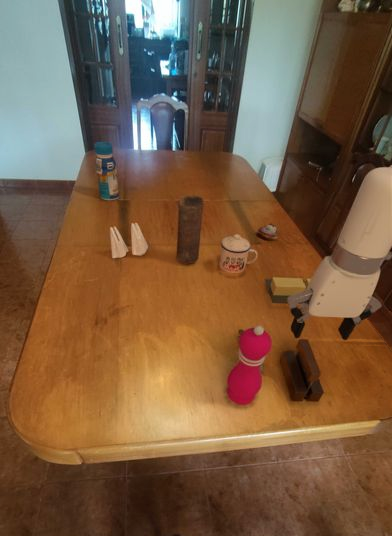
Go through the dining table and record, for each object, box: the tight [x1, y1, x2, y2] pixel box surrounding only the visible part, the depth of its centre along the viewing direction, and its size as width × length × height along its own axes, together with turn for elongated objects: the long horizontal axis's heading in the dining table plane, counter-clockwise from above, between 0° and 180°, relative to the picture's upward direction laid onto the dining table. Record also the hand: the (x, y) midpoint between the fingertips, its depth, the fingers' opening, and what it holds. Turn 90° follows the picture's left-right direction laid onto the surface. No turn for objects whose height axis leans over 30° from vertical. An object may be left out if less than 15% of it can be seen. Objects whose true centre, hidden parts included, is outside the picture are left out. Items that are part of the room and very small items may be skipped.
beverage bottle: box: [93, 141, 120, 201], centre depth 130 cm, size 8×8×20 cm
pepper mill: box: [226, 324, 273, 406], centre depth 63 cm, size 7×7×20 cm
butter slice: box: [304, 278, 312, 291], centre depth 95 cm, size 2×5×3 cm, turn 2°
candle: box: [175, 194, 204, 264], centre depth 99 cm, size 8×7×20 cm
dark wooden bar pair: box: [279, 350, 324, 403], centre depth 72 cm, size 6×12×4 cm, turn 2°
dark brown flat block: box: [295, 338, 322, 392], centre depth 71 cm, size 2×10×8 cm, turn 2°
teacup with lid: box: [218, 233, 258, 274], centre depth 100 cm, size 12×9×12 cm
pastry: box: [257, 222, 279, 241], centre depth 120 cm, size 8×8×5 cm
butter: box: [270, 276, 306, 296], centre depth 94 cm, size 9×5×3 cm, turn 92°
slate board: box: [264, 278, 306, 305], centre depth 96 cm, size 18×12×1 cm, turn 92°
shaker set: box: [109, 222, 149, 259], centre depth 102 cm, size 12×4×11 cm, turn 99°
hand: (318, 334), depth 63 cm, fingers open, 9 cm apart
